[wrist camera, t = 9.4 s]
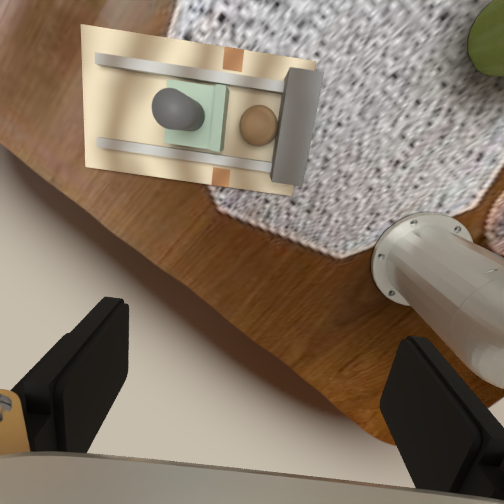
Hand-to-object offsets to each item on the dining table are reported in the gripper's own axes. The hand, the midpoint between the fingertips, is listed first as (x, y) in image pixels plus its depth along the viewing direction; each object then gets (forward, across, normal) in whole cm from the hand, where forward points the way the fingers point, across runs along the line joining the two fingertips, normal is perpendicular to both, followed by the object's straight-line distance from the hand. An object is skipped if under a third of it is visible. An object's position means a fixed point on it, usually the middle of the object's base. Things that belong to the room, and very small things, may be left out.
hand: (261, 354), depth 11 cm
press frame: (+30, +8, -8) cm, 32 cm away
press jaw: (+28, +8, -8) cm, 31 cm away
